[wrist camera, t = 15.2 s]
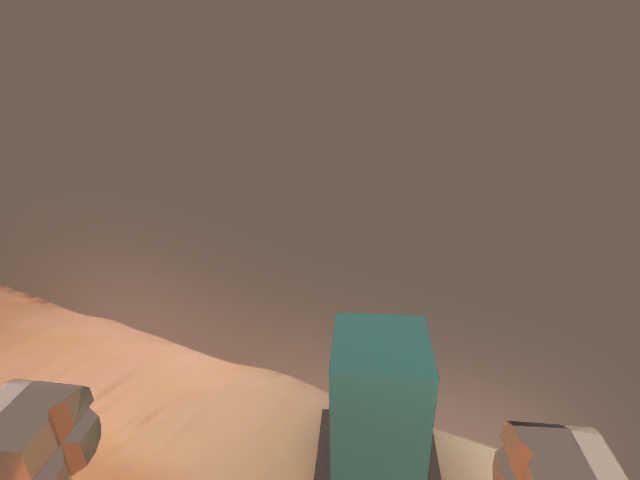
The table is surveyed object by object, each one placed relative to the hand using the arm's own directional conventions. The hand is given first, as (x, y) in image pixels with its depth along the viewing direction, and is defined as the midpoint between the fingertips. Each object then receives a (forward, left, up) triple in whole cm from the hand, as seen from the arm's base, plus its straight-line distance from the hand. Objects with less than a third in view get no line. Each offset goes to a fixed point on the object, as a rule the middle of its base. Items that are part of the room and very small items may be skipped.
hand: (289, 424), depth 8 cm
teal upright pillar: (+3, +14, -18) cm, 23 cm away
